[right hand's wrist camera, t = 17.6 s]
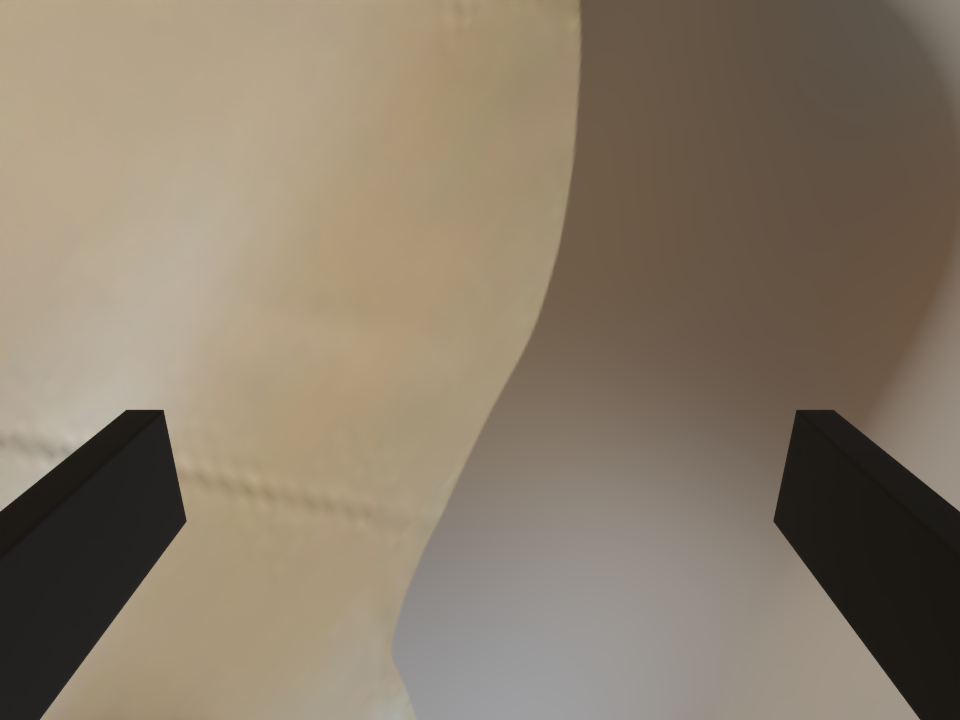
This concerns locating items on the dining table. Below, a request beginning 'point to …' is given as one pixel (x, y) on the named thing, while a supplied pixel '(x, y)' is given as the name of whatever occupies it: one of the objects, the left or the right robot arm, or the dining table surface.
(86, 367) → the dining table surface
